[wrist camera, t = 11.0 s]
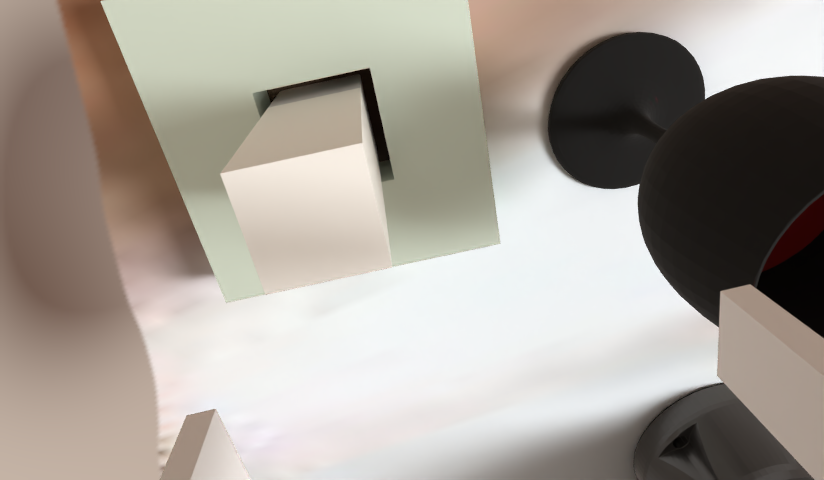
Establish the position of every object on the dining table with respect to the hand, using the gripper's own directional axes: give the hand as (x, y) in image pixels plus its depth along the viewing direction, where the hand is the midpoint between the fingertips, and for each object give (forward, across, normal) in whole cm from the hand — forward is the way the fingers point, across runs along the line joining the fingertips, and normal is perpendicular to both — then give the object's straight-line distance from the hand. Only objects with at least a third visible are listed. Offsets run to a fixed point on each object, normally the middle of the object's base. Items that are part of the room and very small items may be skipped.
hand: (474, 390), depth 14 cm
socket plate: (+23, +4, -3) cm, 24 cm away
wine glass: (+24, -15, +1) cm, 28 cm away
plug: (+23, +4, -3) cm, 24 cm away
